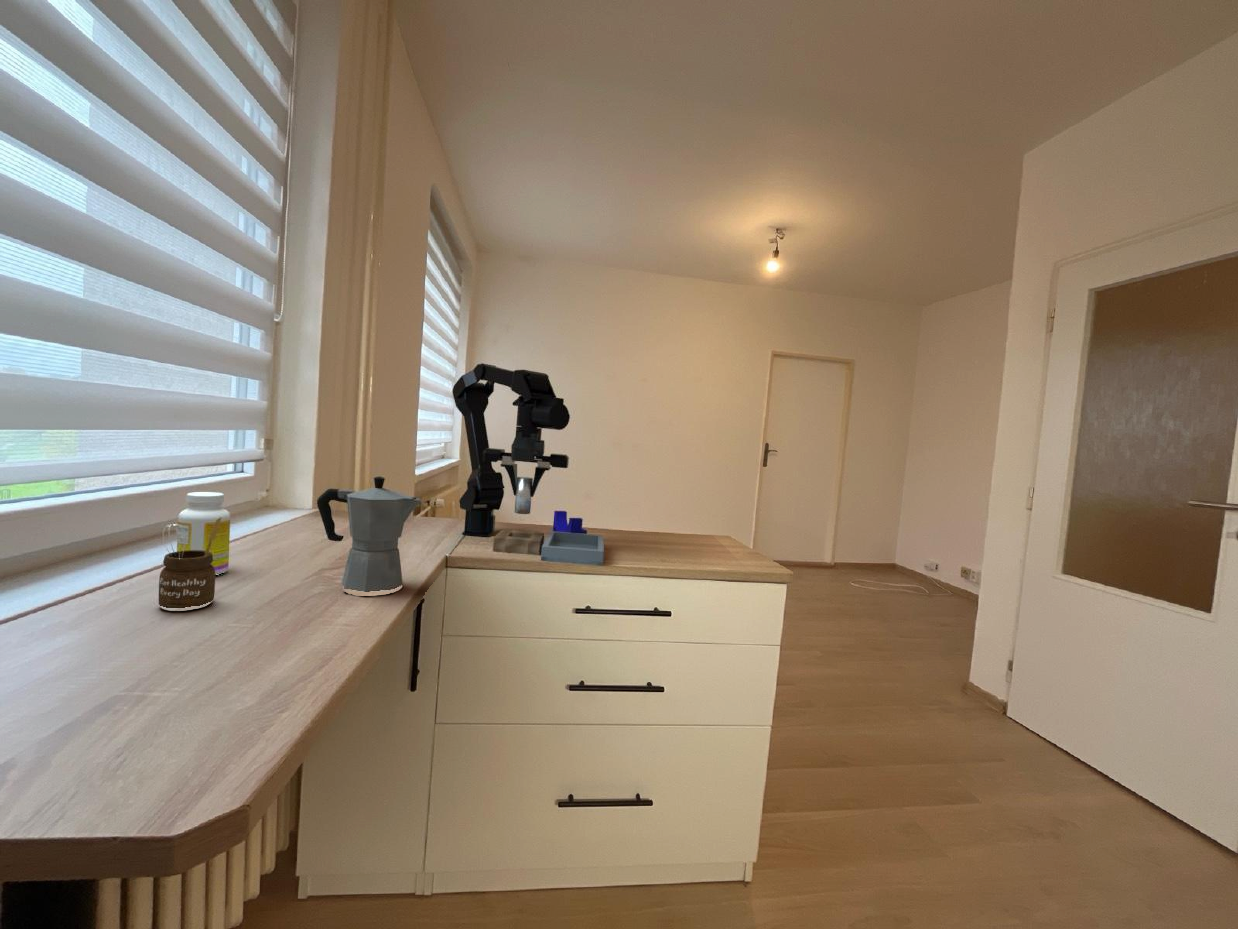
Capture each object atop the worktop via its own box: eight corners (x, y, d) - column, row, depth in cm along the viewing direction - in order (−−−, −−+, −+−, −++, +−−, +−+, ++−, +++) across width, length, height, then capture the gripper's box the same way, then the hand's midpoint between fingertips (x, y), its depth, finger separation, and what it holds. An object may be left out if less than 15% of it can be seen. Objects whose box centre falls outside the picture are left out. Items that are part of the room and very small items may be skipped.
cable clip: (586, 542, 139) (588, 518, 139) (569, 542, 137) (571, 518, 137) (568, 532, 150) (569, 510, 149) (552, 532, 148) (554, 510, 147)
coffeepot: (420, 581, 93) (427, 476, 92) (410, 599, 84) (418, 482, 83) (322, 578, 91) (329, 469, 89) (300, 596, 81) (307, 475, 80)
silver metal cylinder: (513, 513, 123) (516, 477, 122) (515, 511, 126) (518, 476, 126) (529, 514, 123) (531, 479, 122) (531, 512, 126) (533, 477, 126)
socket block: (492, 551, 120) (493, 537, 120) (501, 541, 130) (502, 529, 130) (538, 554, 120) (539, 541, 120) (543, 545, 130) (544, 532, 130)
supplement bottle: (234, 568, 92) (238, 492, 91) (219, 579, 85) (222, 497, 85) (186, 568, 90) (190, 490, 89) (167, 579, 83) (170, 495, 82)
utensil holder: (168, 599, 75) (171, 512, 75) (222, 598, 78) (226, 514, 77) (149, 613, 70) (152, 520, 69) (208, 612, 72) (212, 522, 71)
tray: (540, 560, 115) (541, 546, 115) (548, 543, 133) (549, 530, 133) (602, 565, 116) (603, 551, 116) (602, 547, 134) (603, 535, 134)
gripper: (479, 423, 115) (474, 496, 116) (568, 430, 116) (562, 504, 117) (490, 423, 126) (485, 491, 127) (571, 430, 127) (565, 497, 128)
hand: (523, 496), depth 124 cm, fingers closed on silver metal cylinder, 3 cm apart
